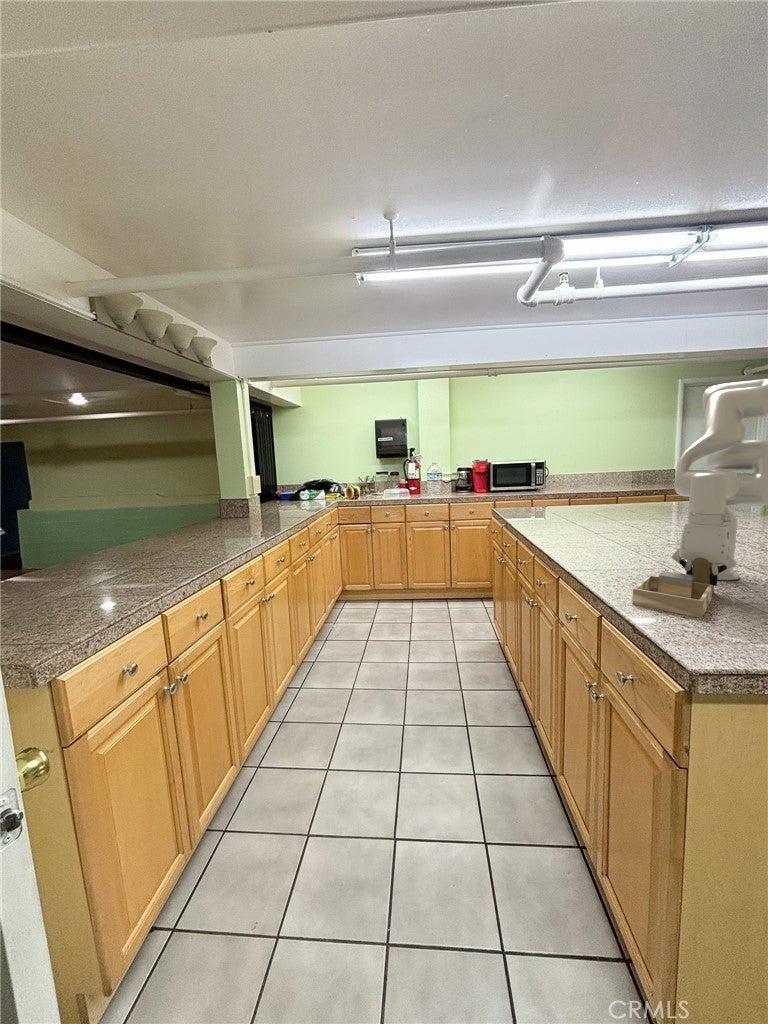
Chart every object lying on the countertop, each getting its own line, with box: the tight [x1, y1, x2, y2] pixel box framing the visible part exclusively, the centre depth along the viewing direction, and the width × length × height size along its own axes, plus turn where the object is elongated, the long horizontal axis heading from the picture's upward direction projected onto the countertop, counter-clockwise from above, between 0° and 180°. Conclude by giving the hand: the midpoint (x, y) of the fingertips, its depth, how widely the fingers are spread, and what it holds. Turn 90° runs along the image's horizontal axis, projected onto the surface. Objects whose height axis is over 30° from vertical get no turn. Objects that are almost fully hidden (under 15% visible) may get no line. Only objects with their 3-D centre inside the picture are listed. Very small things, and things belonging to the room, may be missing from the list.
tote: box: [632, 574, 713, 619], centre depth 104 cm, size 16×14×4 cm
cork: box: [691, 558, 715, 596], centre depth 110 cm, size 6×6×11 cm
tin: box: [658, 570, 695, 599], centre depth 107 cm, size 5×7×6 cm
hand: (700, 585), depth 111 cm, fingers closed on cork, 3 cm apart
